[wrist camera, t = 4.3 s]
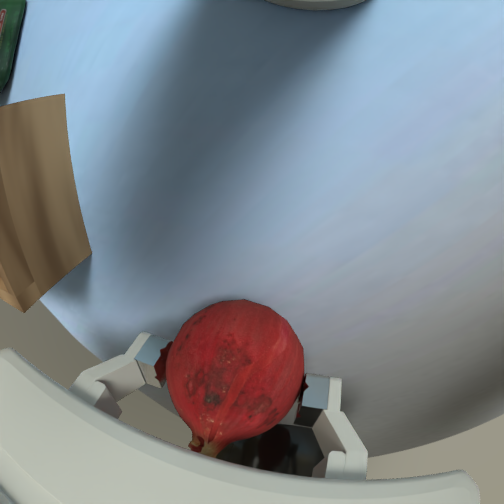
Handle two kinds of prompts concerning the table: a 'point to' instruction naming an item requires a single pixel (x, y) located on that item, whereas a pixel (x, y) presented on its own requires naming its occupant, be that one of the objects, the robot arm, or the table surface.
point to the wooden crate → (37, 201)
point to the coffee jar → (9, 35)
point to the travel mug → (316, 4)
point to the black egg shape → (278, 449)
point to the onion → (233, 373)
